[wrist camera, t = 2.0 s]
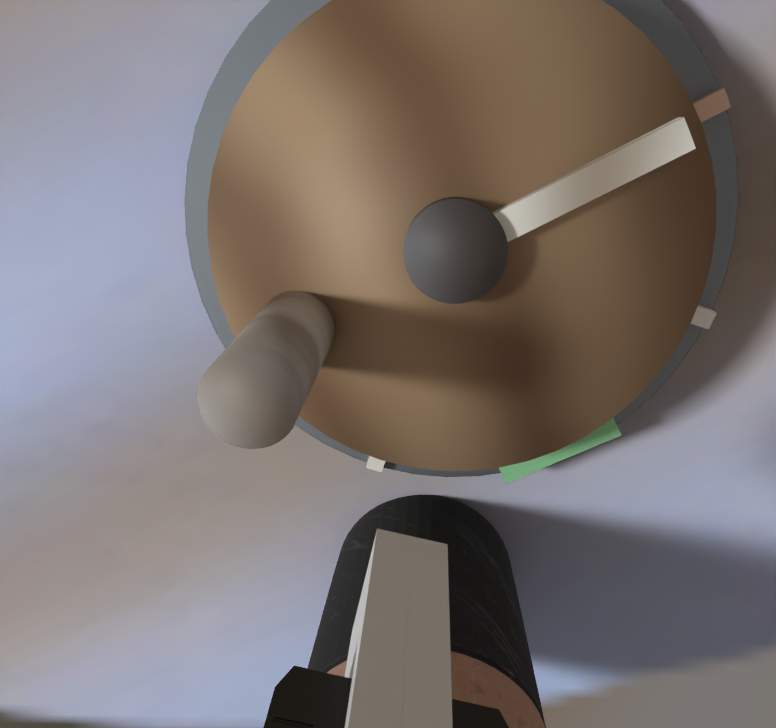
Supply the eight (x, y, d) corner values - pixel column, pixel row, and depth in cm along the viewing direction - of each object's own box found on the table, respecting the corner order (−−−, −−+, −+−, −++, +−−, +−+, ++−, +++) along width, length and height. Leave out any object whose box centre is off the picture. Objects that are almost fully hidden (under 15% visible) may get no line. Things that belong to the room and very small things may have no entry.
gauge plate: (204, -107, 21) (185, -125, 19) (799, -32, 20) (830, -44, 19) (190, 426, 27) (174, 446, 25) (645, 492, 27) (659, 516, 25)
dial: (361, 504, 26) (331, 662, 18) (138, 135, 22) (-19, 145, 14) (757, 334, 23) (915, 442, 15) (580, -136, 19) (677, -306, 11)
